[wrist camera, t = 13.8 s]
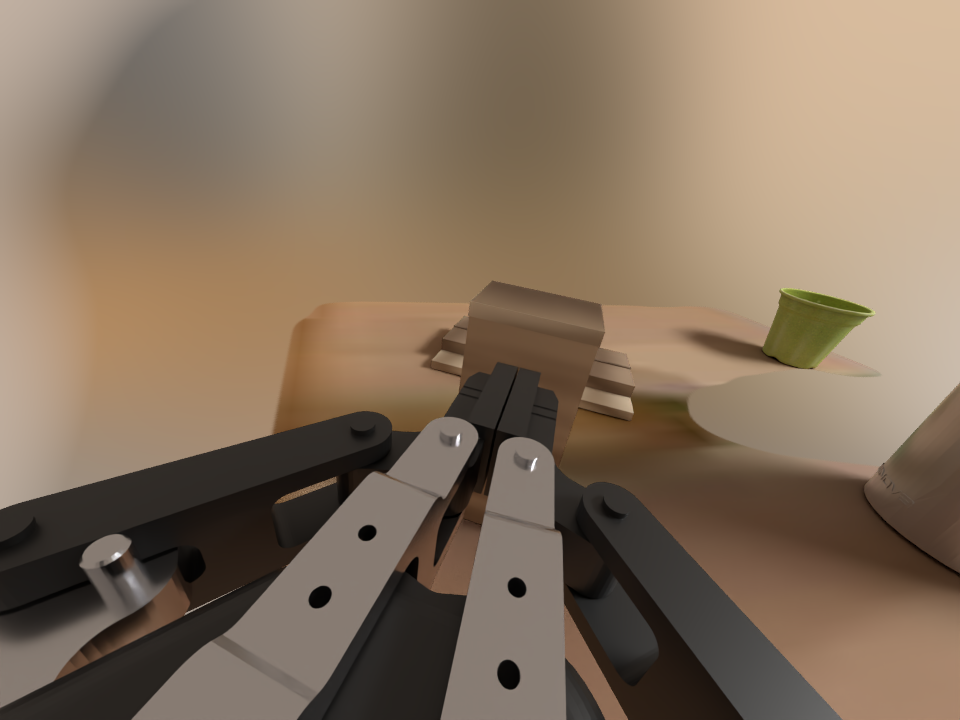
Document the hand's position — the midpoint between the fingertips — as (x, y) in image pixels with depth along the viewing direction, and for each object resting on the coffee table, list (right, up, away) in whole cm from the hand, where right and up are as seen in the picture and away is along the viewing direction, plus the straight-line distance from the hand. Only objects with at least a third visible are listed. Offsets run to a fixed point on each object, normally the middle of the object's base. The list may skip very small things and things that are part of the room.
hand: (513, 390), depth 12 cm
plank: (0, -7, +8) cm, 11 cm away
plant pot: (+41, +1, +36) cm, 55 cm away
